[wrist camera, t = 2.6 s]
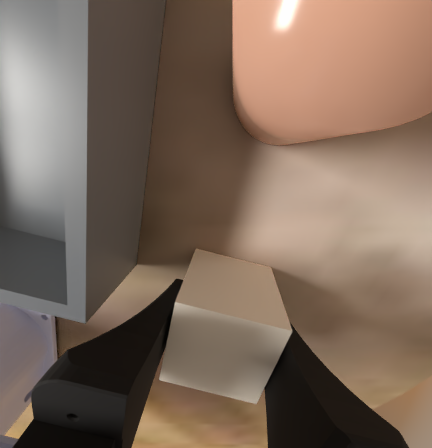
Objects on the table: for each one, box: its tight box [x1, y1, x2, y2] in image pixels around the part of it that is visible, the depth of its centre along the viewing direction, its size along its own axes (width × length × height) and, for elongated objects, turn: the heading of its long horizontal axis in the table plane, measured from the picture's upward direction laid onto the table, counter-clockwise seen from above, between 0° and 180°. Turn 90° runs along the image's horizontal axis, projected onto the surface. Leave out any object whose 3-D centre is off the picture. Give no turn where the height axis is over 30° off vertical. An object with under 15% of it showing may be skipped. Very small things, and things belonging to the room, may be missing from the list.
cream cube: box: [159, 249, 292, 404], centre depth 11 cm, size 5×5×5 cm
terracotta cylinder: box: [233, 0, 432, 145], centre depth 6 cm, size 5×5×7 cm
